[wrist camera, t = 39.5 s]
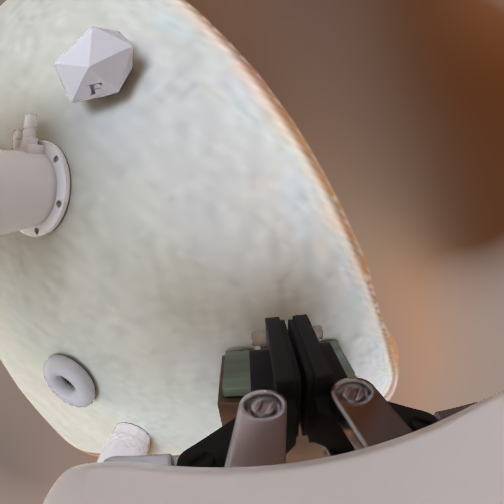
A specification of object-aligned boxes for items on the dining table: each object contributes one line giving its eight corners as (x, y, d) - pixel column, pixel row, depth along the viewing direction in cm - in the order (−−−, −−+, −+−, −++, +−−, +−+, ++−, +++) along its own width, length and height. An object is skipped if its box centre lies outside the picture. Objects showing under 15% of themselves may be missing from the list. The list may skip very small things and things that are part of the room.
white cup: (161, 446, 37) (151, 488, 28) (127, 445, 38) (113, 484, 28) (140, 419, 36) (123, 464, 26) (104, 419, 36) (86, 459, 26)
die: (70, 101, 25) (52, 121, 18) (67, 39, 19) (46, 36, 12) (133, 88, 28) (134, 101, 21) (133, 25, 22) (134, 16, 15)
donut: (110, 392, 34) (68, 343, 32) (102, 406, 31) (58, 355, 28) (77, 402, 35) (40, 359, 33) (69, 414, 32) (30, 370, 29)
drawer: (220, 315, 30) (215, 349, 23) (339, 304, 30) (361, 334, 24) (236, 422, 35) (236, 457, 28) (327, 412, 35) (338, 445, 28)
